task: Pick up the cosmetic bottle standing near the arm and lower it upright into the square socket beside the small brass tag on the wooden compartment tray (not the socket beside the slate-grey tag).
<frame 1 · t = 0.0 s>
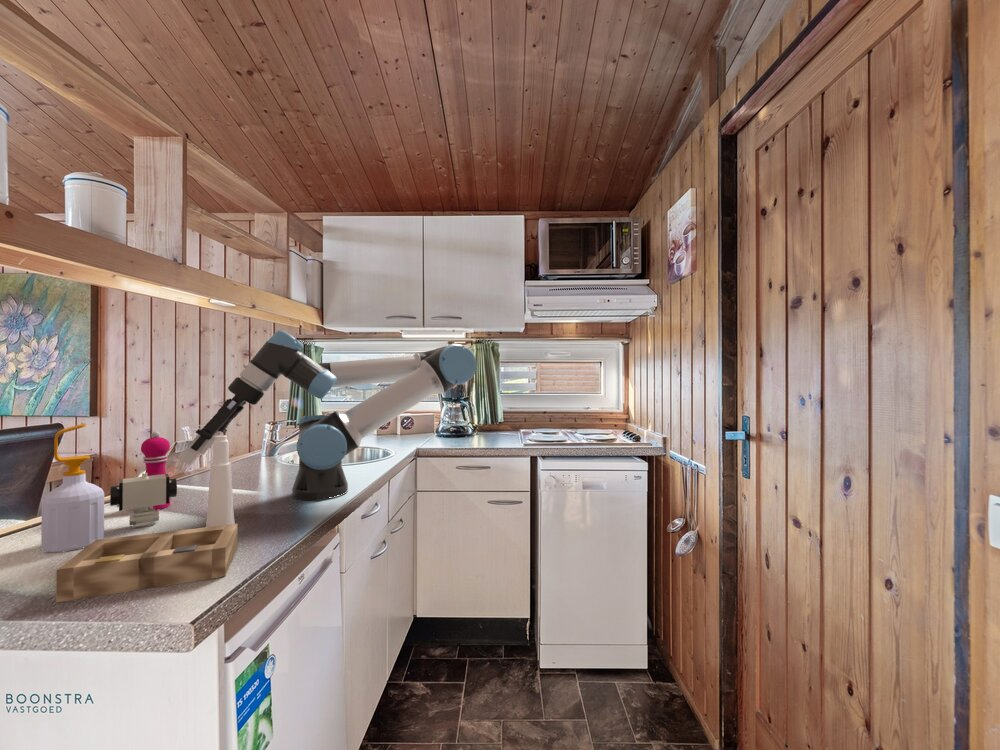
hand: (191, 456, 103), 15 cm above the countertop, tool tilted 35°, fingers open, 13 cm apart
pneumatic valve: (144, 525, 100), on the countertop
soap bottle: (73, 545, 88), on the countertop
wooden compartment tray: (159, 571, 76), on the countertop
cosmetic bottle: (220, 541, 91), on the countertop
pepper mill: (155, 508, 113), on the countertop
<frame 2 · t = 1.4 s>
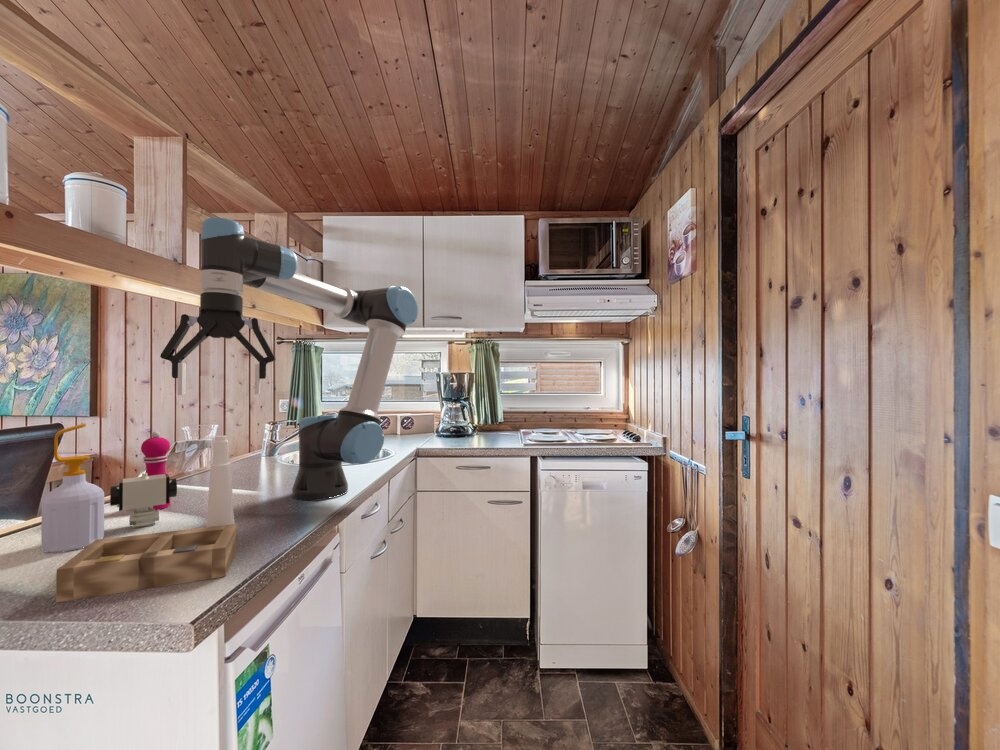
hand: (220, 394, 91), 31 cm above the countertop, tool pointing down, fingers open, 13 cm apart
nothing on the countertop moved.
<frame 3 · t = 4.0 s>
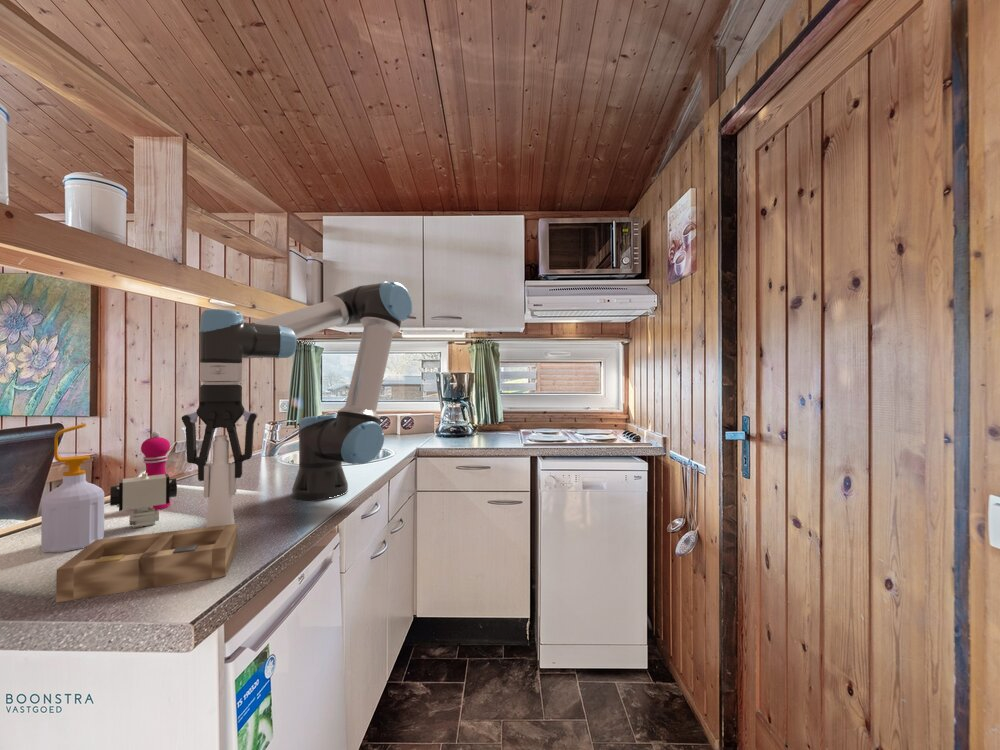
hand: (220, 494, 91), 10 cm above the countertop, tool pointing down, fingers closed on cosmetic bottle, 4 cm apart
cosmetic bottle: (220, 541, 91), on the countertop, touching gripper
everything else where it was.
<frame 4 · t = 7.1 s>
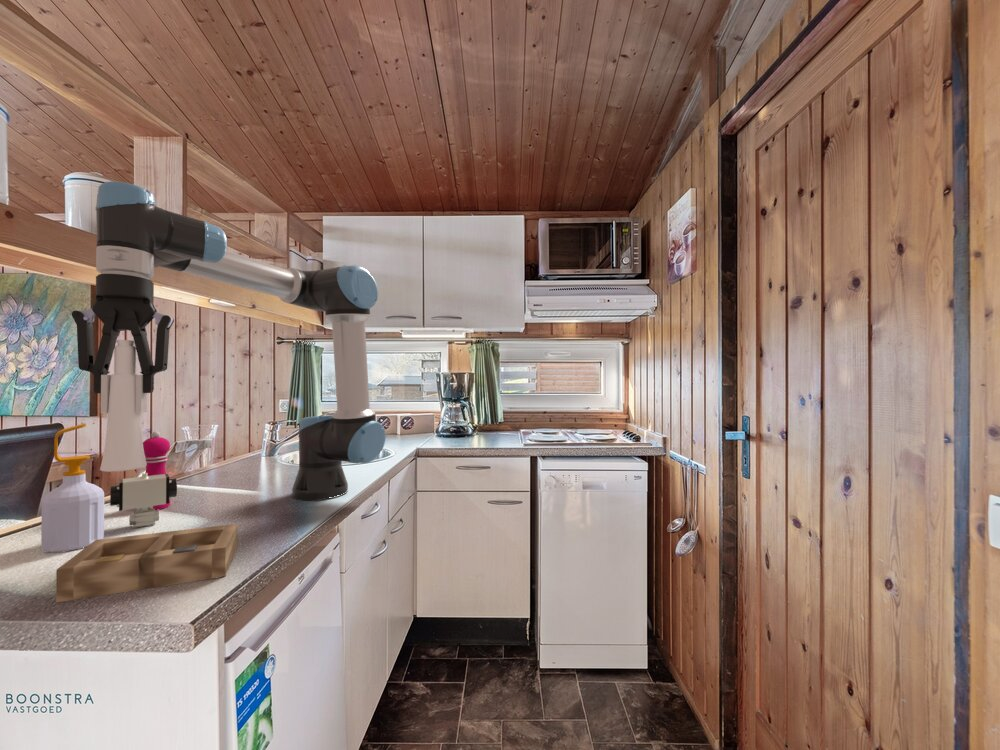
hand: (124, 412, 74), 28 cm above the countertop, tool pointing down, fingers closed on cosmetic bottle, 4 cm apart
cosmetic bottle: (123, 469, 74), point 18 cm above the countertop, touching gripper
everything else where it was.
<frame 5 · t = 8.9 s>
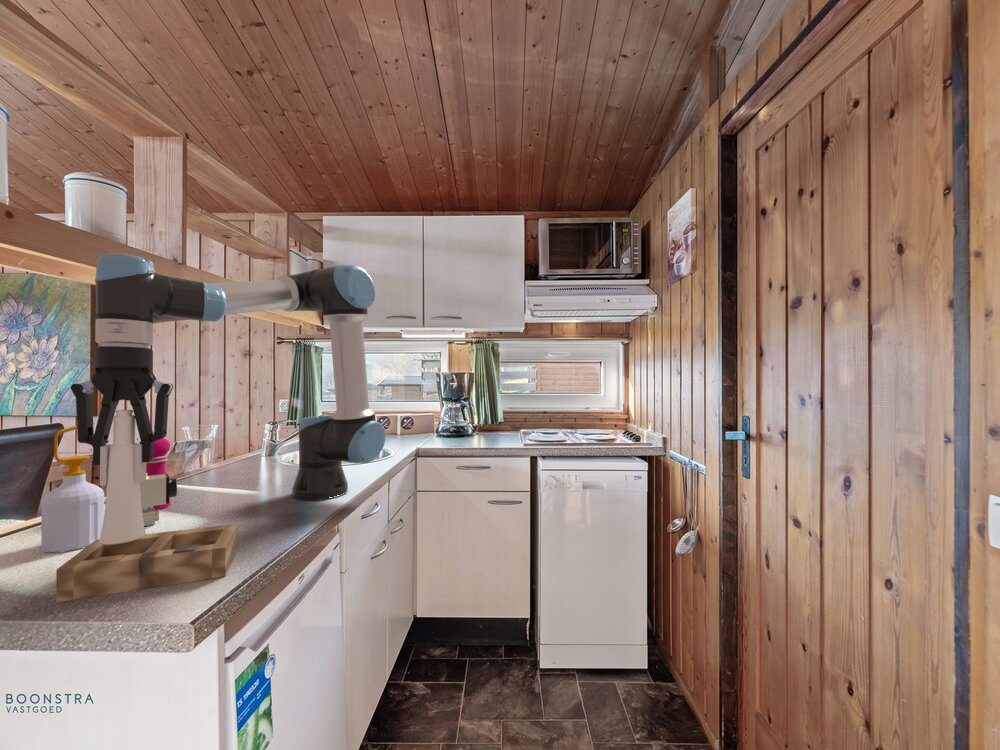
hand: (123, 482, 74), 16 cm above the countertop, tool pointing down, fingers closed on cosmetic bottle, 4 cm apart
cosmetic bottle: (123, 539, 74), point 6 cm above the countertop, touching gripper
everything else where it was.
when the fingers open (12 cm above the countertop, at t = 10.1 s): cosmetic bottle drops 2 cm, resting in wooden compartment tray.
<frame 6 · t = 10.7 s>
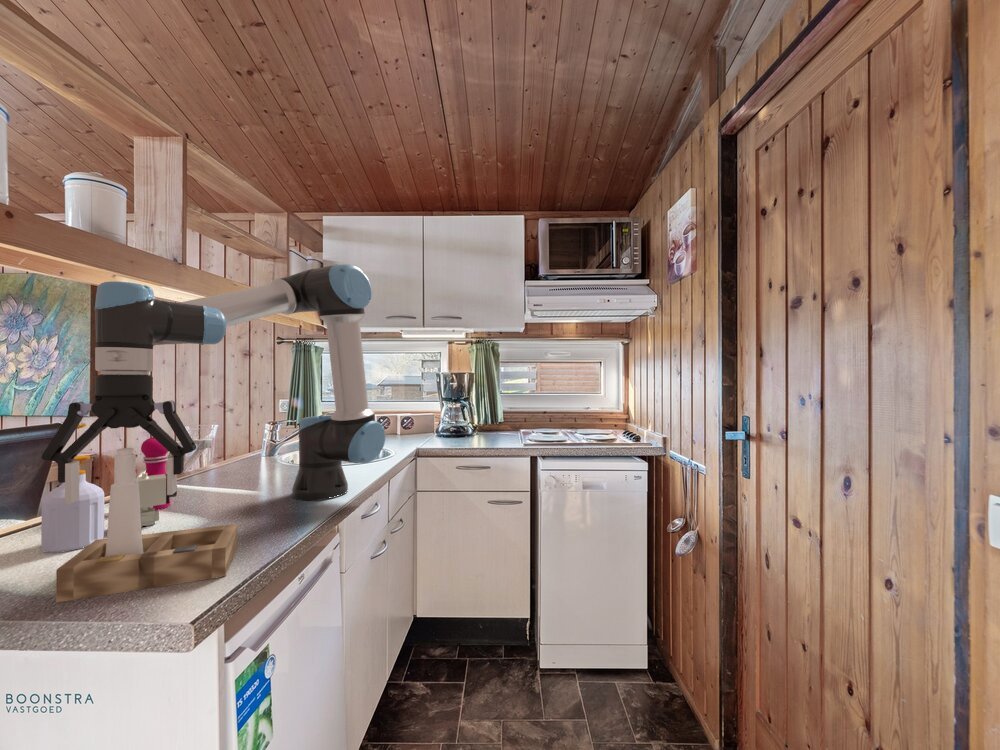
hand: (123, 497, 74), 14 cm above the countertop, tool pointing down, fingers open, 13 cm apart
cosmetic bottle: (124, 578, 74), resting in wooden compartment tray
everything else where it was.
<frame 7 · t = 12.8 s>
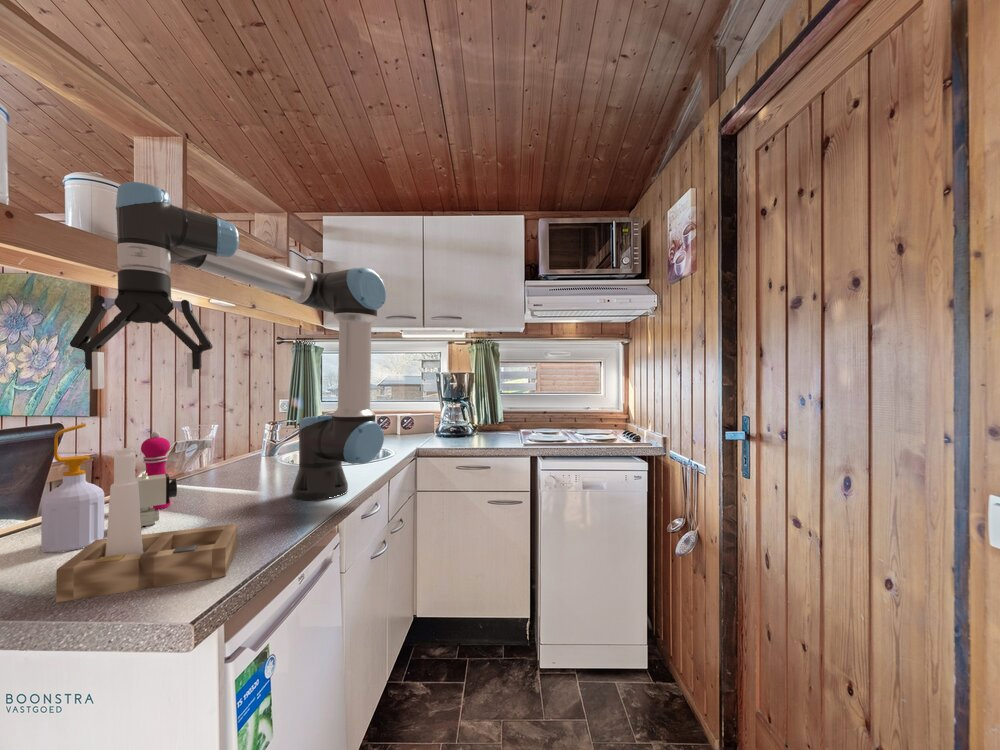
hand: (146, 388, 79), 32 cm above the countertop, tool pointing down, fingers open, 13 cm apart
nothing on the countertop moved.
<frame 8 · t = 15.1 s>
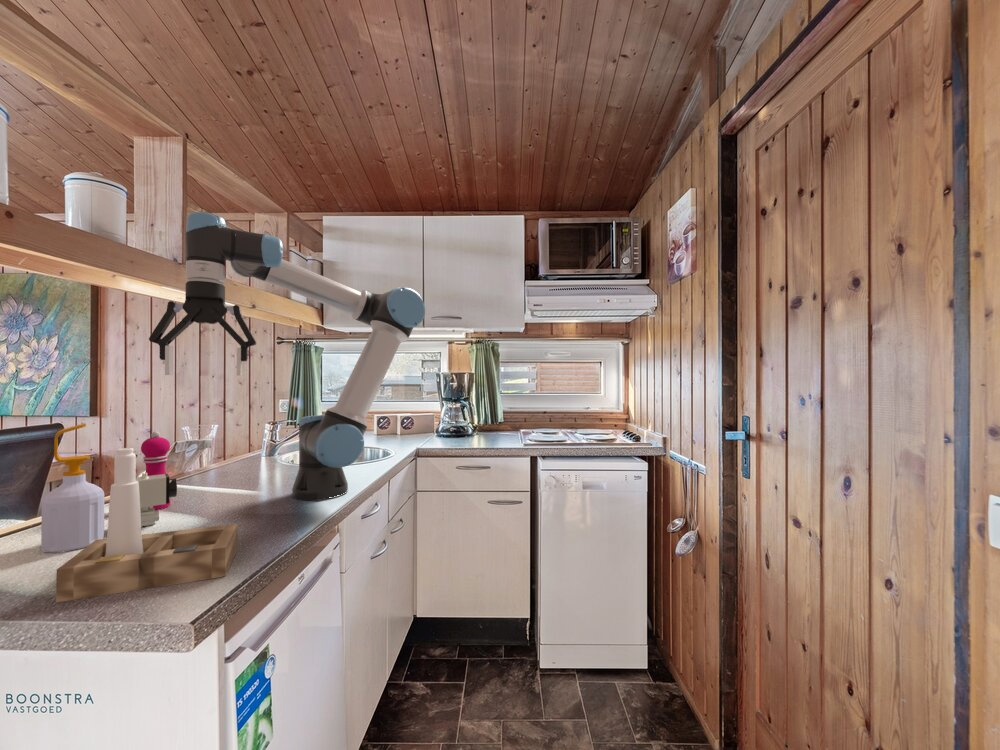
hand: (205, 375, 99), 35 cm above the countertop, tool pointing down, fingers open, 13 cm apart
nothing on the countertop moved.
at the end: cosmetic bottle inside the target area (0.1 cm from its centre), resting in wooden compartment tray; cosmetic bottle tilted 0°; the gripper is holding nothing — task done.
